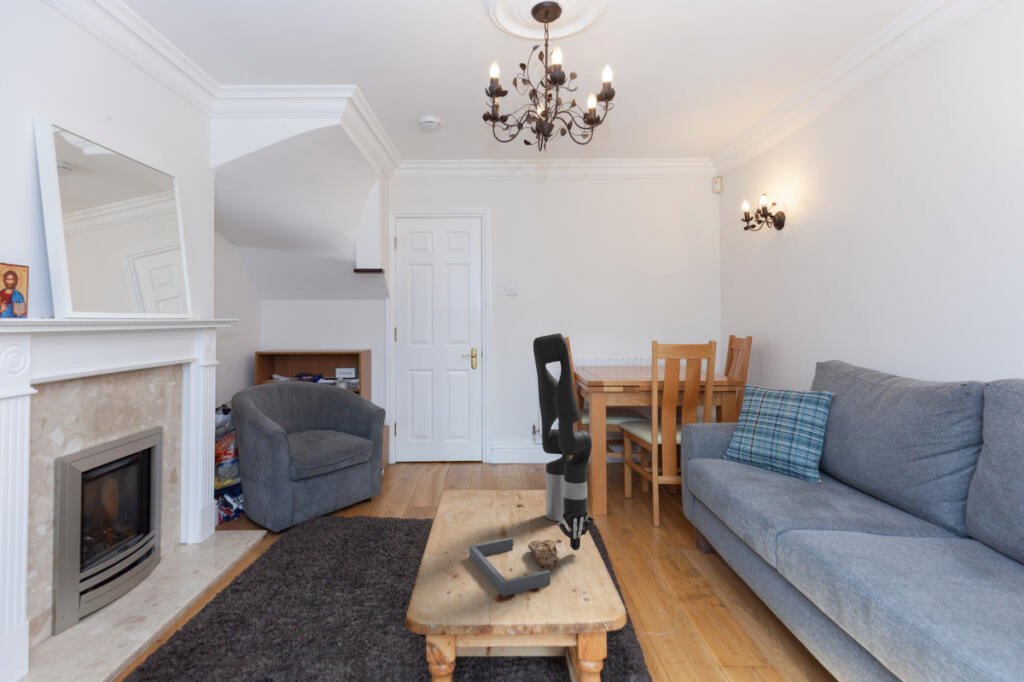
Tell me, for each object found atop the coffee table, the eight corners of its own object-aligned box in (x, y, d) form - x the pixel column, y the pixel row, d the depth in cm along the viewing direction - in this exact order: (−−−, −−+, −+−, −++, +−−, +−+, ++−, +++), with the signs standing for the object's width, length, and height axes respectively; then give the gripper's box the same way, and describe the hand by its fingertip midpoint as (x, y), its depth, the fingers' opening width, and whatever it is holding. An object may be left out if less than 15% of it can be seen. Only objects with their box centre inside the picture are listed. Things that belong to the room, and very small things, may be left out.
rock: (574, 562, 140) (543, 559, 138) (570, 579, 140) (539, 576, 138) (555, 536, 156) (526, 532, 154) (552, 551, 156) (523, 548, 154)
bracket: (511, 548, 156) (511, 537, 156) (550, 584, 133) (550, 571, 133) (469, 557, 149) (469, 546, 149) (503, 596, 127) (503, 583, 127)
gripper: (585, 488, 158) (585, 540, 158) (551, 493, 152) (550, 548, 152) (599, 495, 151) (599, 549, 151) (563, 501, 145) (563, 558, 145)
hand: (575, 548), depth 152 cm, fingers closed
